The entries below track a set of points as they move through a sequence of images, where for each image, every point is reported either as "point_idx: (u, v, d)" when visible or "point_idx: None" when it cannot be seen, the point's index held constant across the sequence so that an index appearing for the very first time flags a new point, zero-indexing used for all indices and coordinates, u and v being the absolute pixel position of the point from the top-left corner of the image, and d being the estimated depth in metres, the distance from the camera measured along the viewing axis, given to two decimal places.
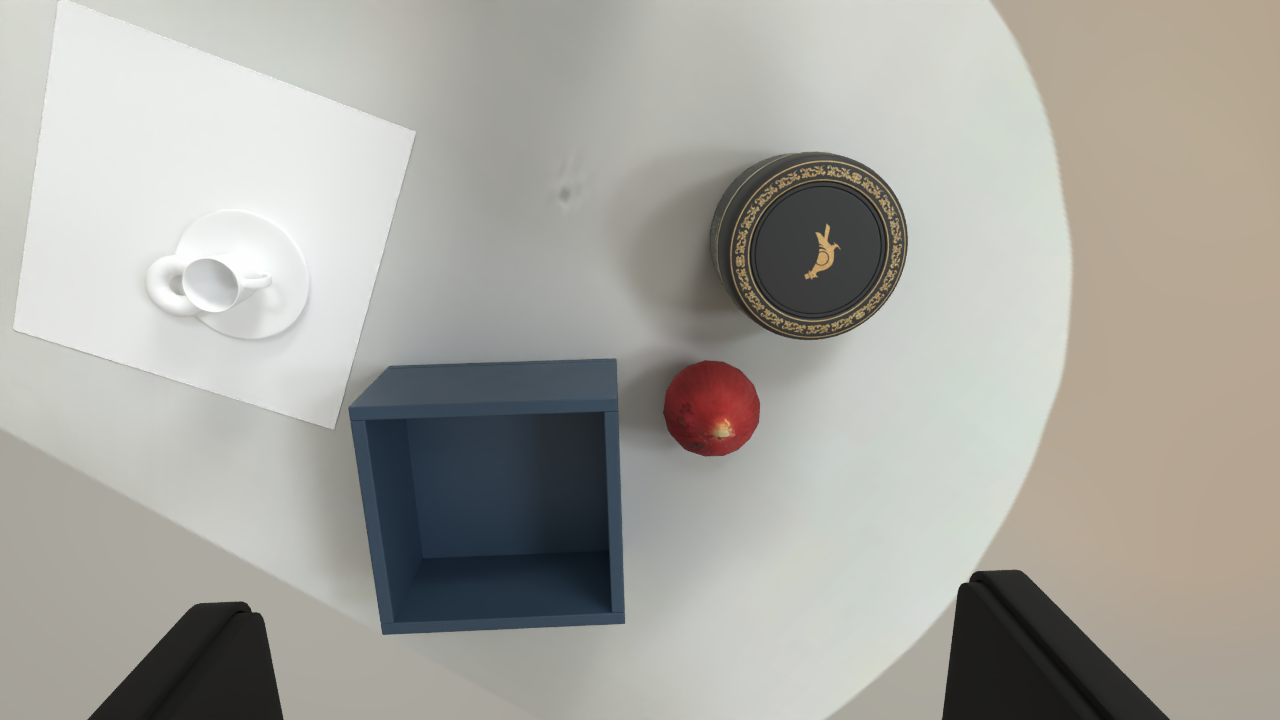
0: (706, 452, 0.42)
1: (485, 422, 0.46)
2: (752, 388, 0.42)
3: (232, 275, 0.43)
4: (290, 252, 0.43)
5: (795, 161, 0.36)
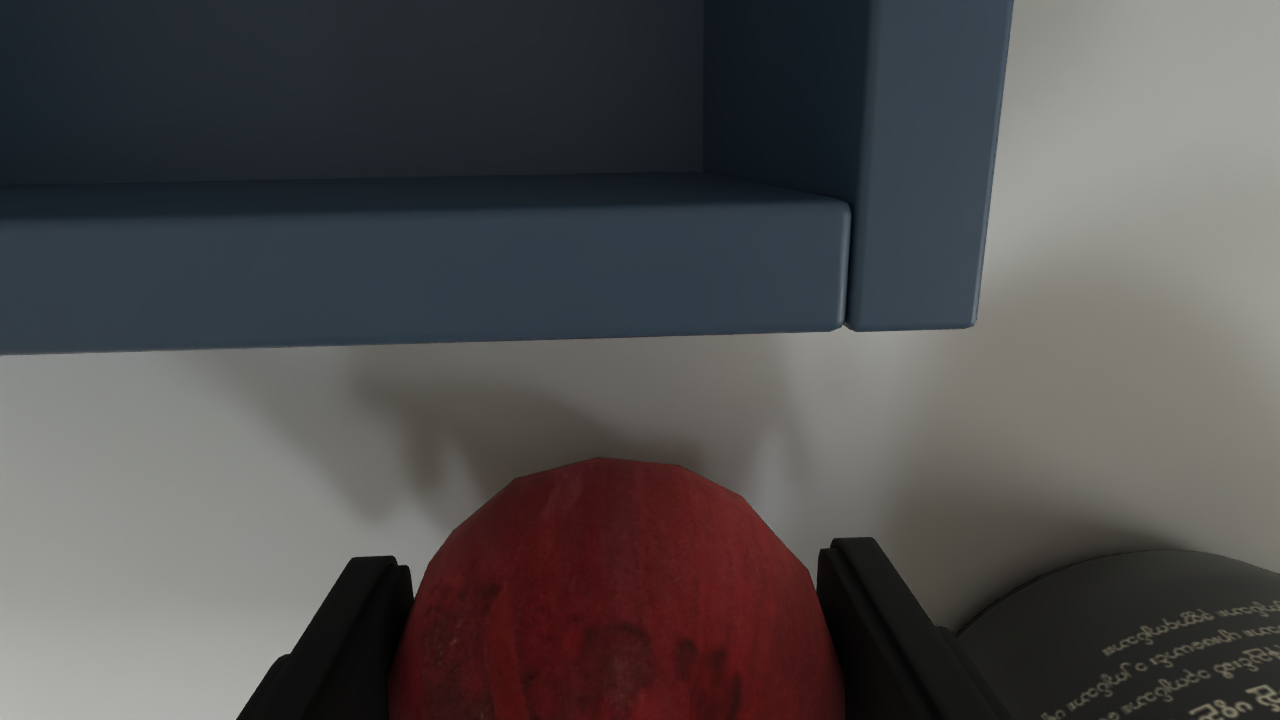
0: None
1: None
2: None
3: None
4: None
5: None
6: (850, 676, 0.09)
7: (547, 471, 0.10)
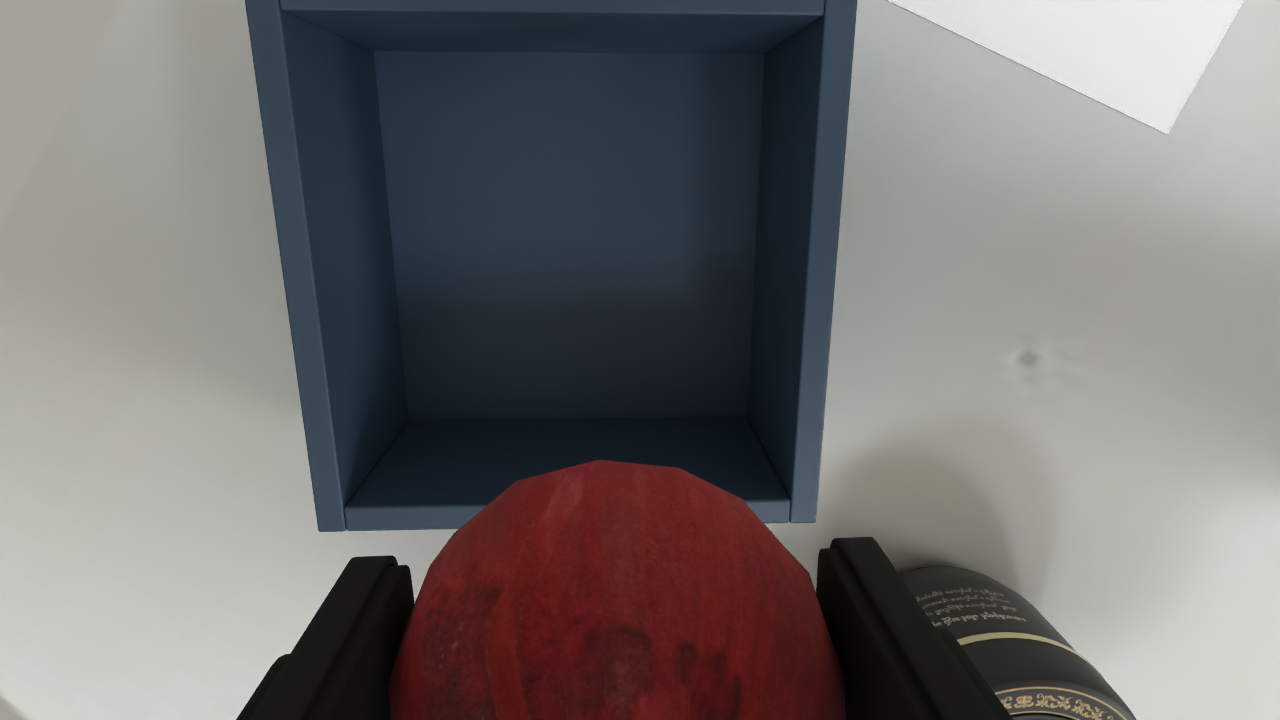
0: None
1: (669, 209, 0.25)
2: None
3: None
4: None
5: None
6: (849, 676, 0.09)
7: (548, 474, 0.10)
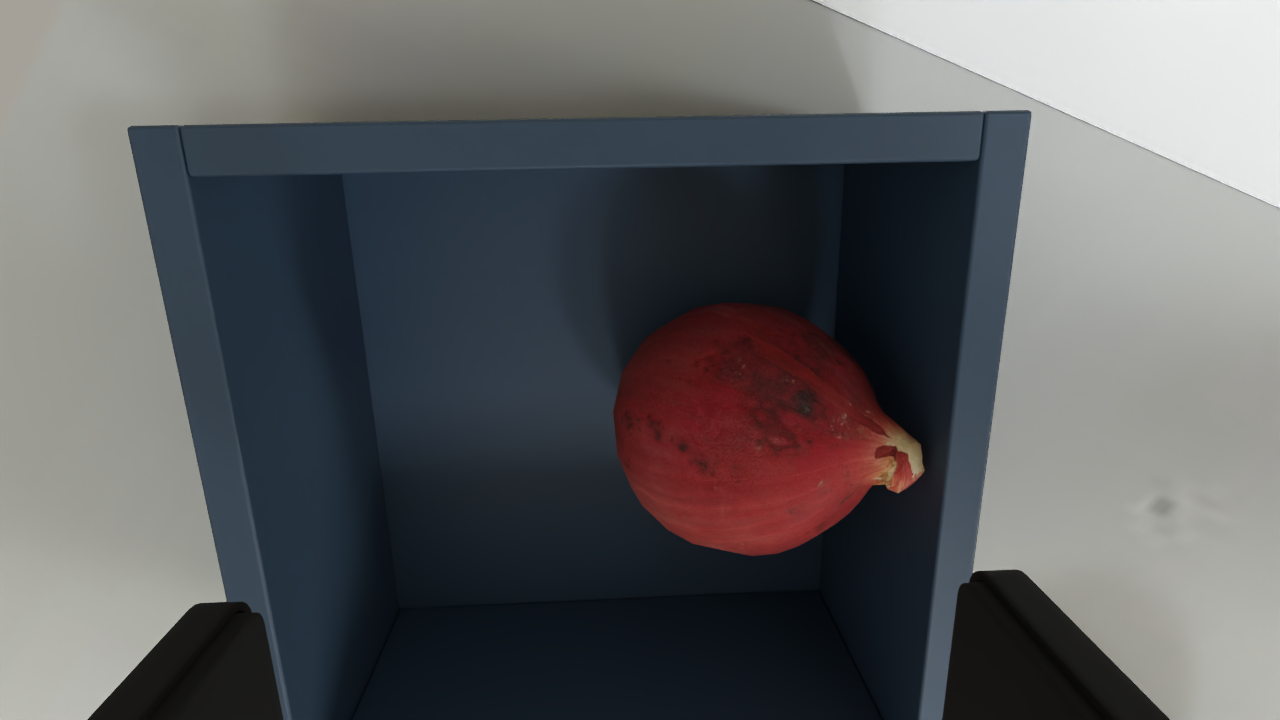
0: (771, 434, 0.14)
1: None
2: None
3: None
4: None
5: None
6: None
7: (678, 318, 0.16)
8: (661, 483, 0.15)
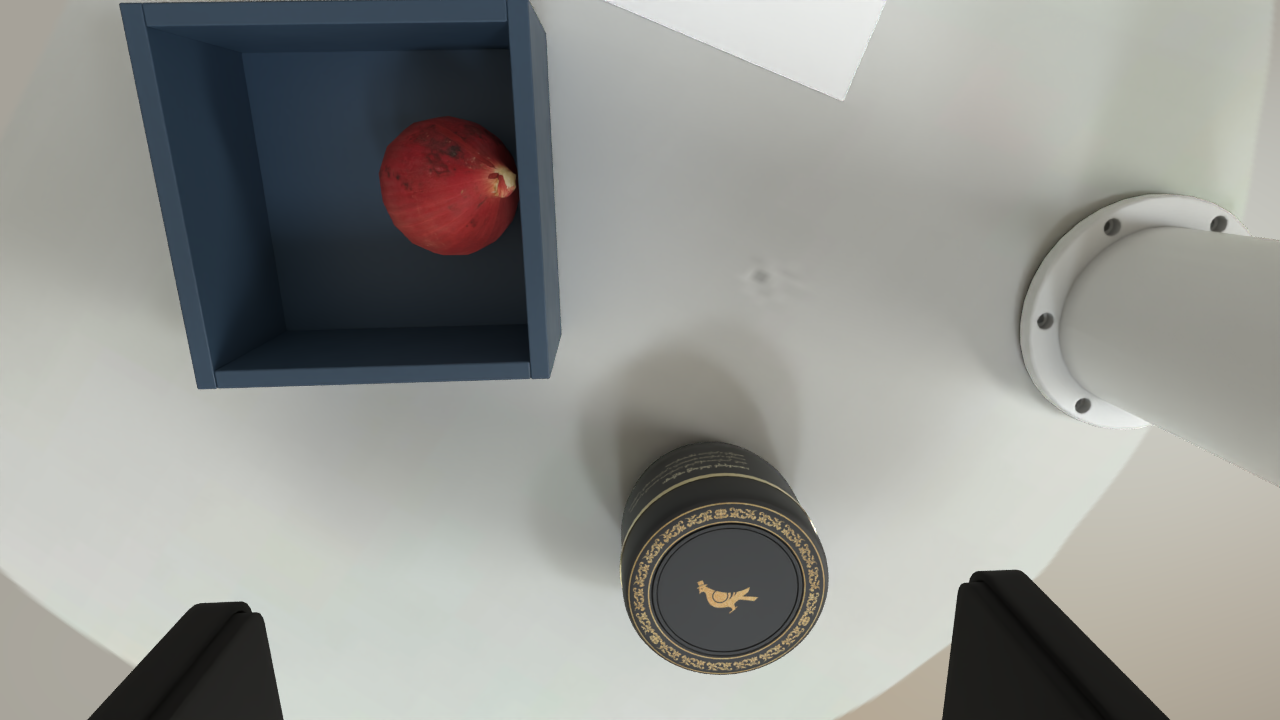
0: (436, 166, 0.28)
1: None
2: None
3: None
4: None
5: (824, 560, 0.33)
6: None
7: None
8: (392, 201, 0.29)
